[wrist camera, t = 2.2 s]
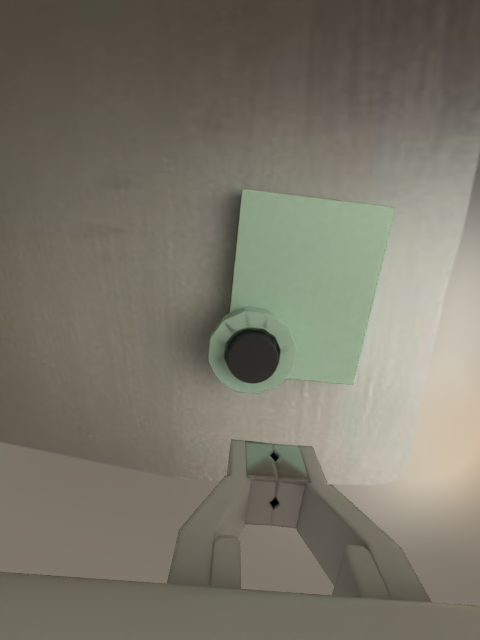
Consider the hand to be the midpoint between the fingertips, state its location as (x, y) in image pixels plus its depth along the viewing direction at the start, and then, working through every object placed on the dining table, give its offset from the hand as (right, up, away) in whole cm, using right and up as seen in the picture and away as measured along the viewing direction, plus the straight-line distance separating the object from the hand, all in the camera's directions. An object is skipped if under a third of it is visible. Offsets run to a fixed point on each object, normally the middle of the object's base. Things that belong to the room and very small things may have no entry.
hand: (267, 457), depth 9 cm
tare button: (0, +3, +10) cm, 10 cm away
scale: (+4, +7, +12) cm, 14 cm away
